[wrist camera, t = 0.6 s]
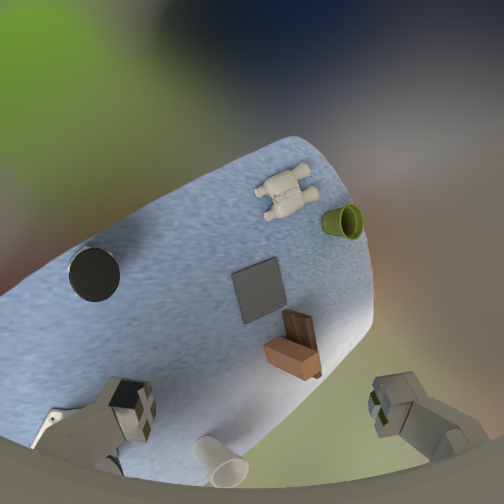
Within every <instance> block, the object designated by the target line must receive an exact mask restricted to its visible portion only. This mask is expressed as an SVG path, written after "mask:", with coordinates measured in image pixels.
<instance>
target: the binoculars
mask: <svg viewBox="0 0 504 504" xmlns="http://www.w3.org/2000/svg"><path fill="white" fill-rule="evenodd" d="M310 174H311V170H310V167H309V166H308V165H307V164H306V163H304V162H301V163H299V164H298V165H297V166H296V167H295V168H294V169H292V170H291V171H289V170H285V171H283V172H281V173H279V174H276V175H274V176H272V177H270V178H268V179H266V180H265V181H264V183H263V185H262V186H260V187H258V188H256V189H255V190H254V193H255V195H256V197H258V198H260V197H262V196H265V195H266V196H269V197H270V198H271V201H272V203H273V205H272V206H271V208H270V210H269V211H267V212H265V213H264V218H265V219H266V221H268V222H269V221H271V220H273V219H275V218H285V217H287V216H288V215H290V214H292V213H294V212H295V211H297V210H299V209H301V208H302V207H303V206H304V204H305V203H308V202H312V201H317V200H318V199H319V191H318V190H317V188H316V187H314V186H310V187H308V188H307V189H306V190H304V191H302V192H301V190H300V188H299V184H298V180H300V179H302V178H306V177H308V176H310ZM274 196H276V197H274Z"/></svg>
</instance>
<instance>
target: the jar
mask: <svg viewBox="0 0 504 504" xmlns="http://www.w3.org/2000/svg"><path fill="white" fill-rule="evenodd" d="M68 271H69V279H70V284H71V286H72V288H73V290H74V291H75V294H76V295H78V296H79V297H81V298H82V299H84V300H86V301H90V302H100V301H103V300H106V299H108V298H109V297H110V296H111V295H112V294H113V293H114V292H115V291H116V289H117V287H118V284H119V280H120V271H119V267H118V264H117V262H116V261H115V259H114V258H113V255H112V253H110V252H107V251H104V250H101V249H99V248H92V247H88V246H83V247H82V248H81V249H80V251H78V252H77V253H76V255H75V256H74V257H73V258H72V260H71V261H70V262H69V263H68Z"/></svg>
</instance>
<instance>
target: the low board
mask: <svg viewBox="0 0 504 504" xmlns="http://www.w3.org/2000/svg"><path fill="white" fill-rule="evenodd" d="M282 315H283V319H284V324H285V328H286V333H287V337H288V340H290V341H292V342H295V343H297V344H300V345H302V346H305V347H308V348H310V349H313V350H316V351H318V350H317V345H316V339H315V334H314V328H313V323H312V317H311V316H309V315H305V314H302V313H298V312H295V311H291V310H287V309H286V310H284V311H282ZM321 376H322V374H321V371H320V372H318V373H317V374H315V375H314V376H312V377H314V378H316V379H318V378H320V377H321Z"/></svg>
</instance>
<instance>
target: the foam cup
mask: <svg viewBox="0 0 504 504" xmlns="http://www.w3.org/2000/svg"><path fill="white" fill-rule="evenodd" d="M193 450H194V452H195V454H196V456H197V458H198V460H199V461H200V463H201V465H202V467H203V469H204V471H205V473H206V476H207V478H208V480H209V481H210V482H211V483H212V485H213V486H214V487H216V488H232V487H235V486H237V485H238V484H240V483H241V482H242V481H243V480H244V479H245V477H246V476H247V475H248V471H249V465H248V463H247V461H245V459H244V458H242V457H241V456H240V455H238V454H236V453H234V452H233V451H231V450H230V449H229V448H227V447H226V446H225V445H223V444H222V443H220V442H219V441H218V440H216V439H215V438H213V437H212V436H203V437H200V438H199V439H198V440H196V442H195V443H194V446H193Z"/></svg>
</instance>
